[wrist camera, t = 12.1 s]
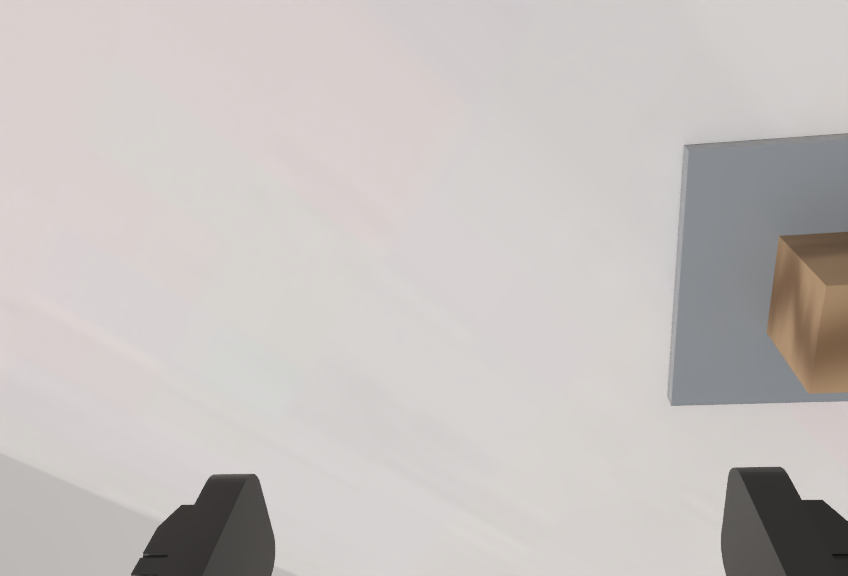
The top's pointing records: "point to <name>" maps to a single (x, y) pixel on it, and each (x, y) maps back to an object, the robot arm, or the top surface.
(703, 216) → the slate plate
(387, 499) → the top surface
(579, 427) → the top surface
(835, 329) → the walnut block
